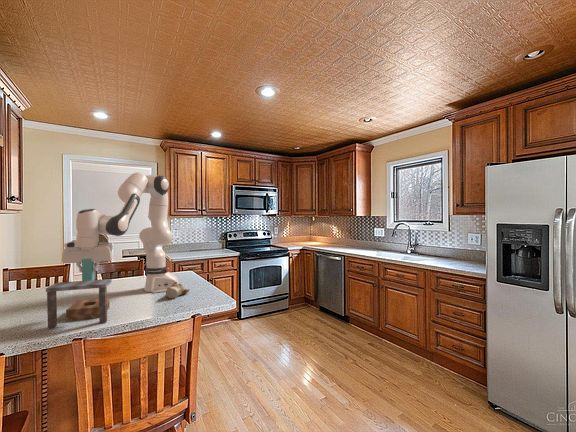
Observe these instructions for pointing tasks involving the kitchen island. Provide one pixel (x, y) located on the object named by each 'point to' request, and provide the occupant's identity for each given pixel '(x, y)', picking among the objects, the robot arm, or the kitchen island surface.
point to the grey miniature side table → (79, 308)
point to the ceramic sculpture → (175, 290)
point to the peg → (87, 270)
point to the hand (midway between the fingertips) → (88, 271)
